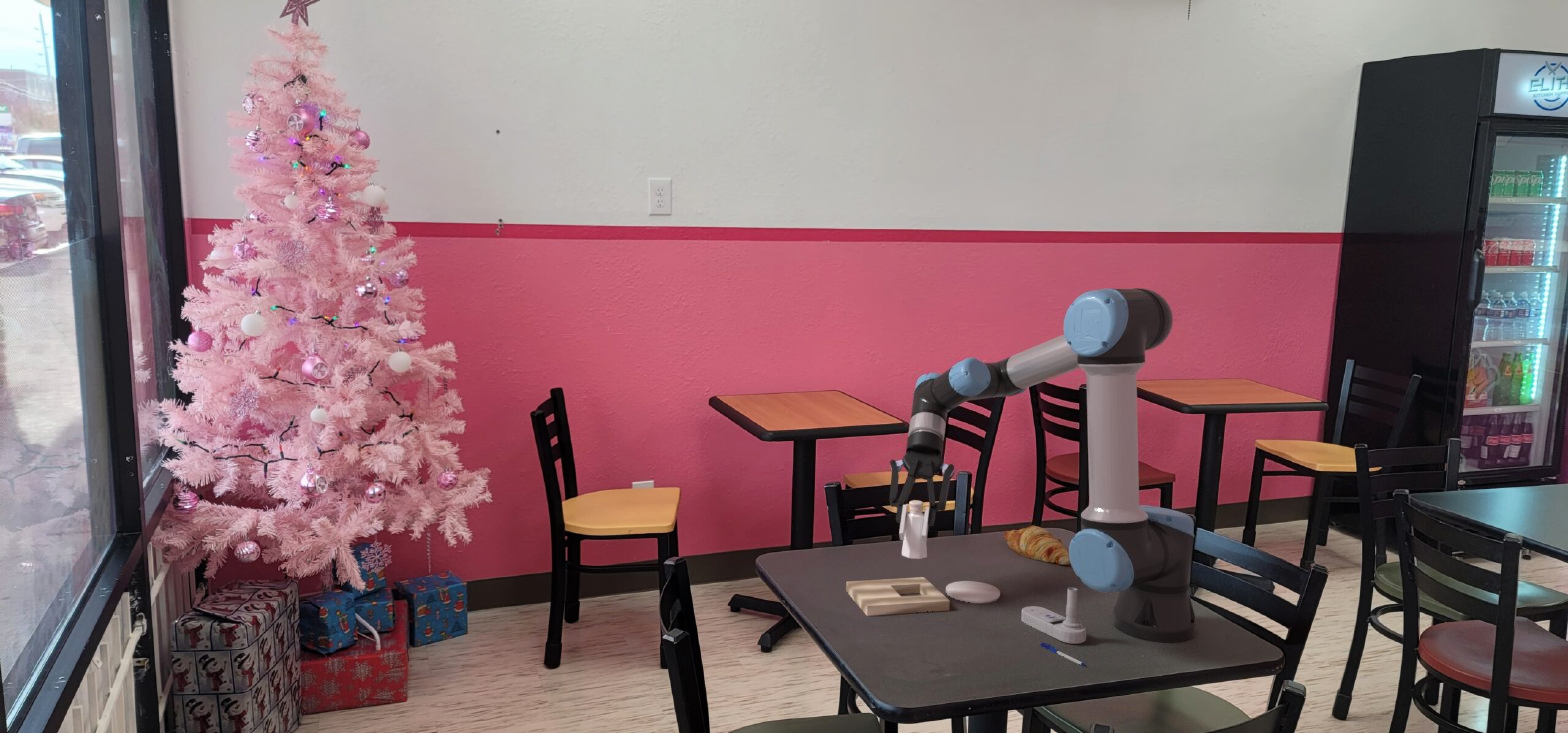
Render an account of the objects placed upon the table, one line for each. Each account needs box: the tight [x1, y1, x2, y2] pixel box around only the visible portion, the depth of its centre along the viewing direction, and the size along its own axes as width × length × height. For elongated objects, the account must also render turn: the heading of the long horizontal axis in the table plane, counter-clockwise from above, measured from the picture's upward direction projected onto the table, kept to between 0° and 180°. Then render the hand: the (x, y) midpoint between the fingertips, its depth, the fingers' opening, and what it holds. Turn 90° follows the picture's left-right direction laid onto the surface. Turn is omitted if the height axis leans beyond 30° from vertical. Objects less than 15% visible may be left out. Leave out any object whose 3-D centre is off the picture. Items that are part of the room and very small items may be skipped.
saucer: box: [945, 580, 1001, 604], centre depth 211 cm, size 11×11×1 cm
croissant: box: [1003, 524, 1071, 566], centre depth 238 cm, size 21×10×8 cm, turn 32°
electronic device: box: [1020, 587, 1087, 645], centre depth 192 cm, size 5×10×15 cm
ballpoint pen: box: [1040, 642, 1087, 667], centre depth 181 cm, size 10×1×1 cm, turn 33°
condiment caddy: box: [845, 576, 951, 617], centre depth 206 cm, size 14×17×2 cm
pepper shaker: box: [901, 499, 928, 560], centre depth 205 cm, size 5×5×11 cm
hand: (912, 537), depth 202 cm, fingers closed on pepper shaker, 4 cm apart
